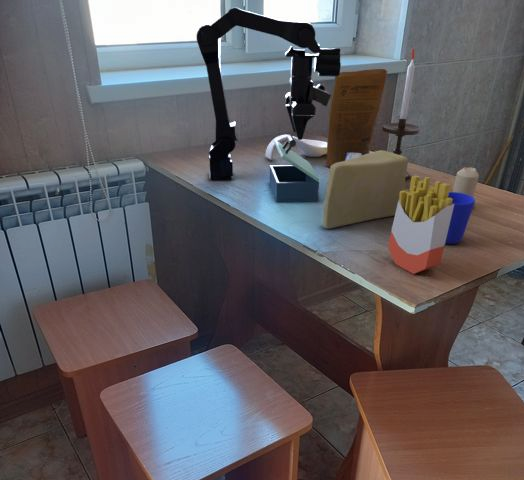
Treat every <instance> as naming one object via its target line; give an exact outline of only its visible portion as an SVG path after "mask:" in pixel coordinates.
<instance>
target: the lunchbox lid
mask: <svg viewBox="0 0 524 480" xmlns="http://www.w3.org/2000/svg"><path fill="white" fill-rule="evenodd" d="M286 135H287V137H286V140H285V142H284V143H281V142H278V141H276V140H274V143H275V148H276V149H277V152H278V154H279V155H280V158H281V159H283V160H284V161H286V162H287V163H289V164H290V165H294V166H295V167H297V168H298V169H300V170H301V171H303V172H304V173H306V174H307V175H309V176H310V177H312V178H313V179H315V180H316V181H318V182H319V183H320V180H321V179H320V178H319V176H318V174H317V173H316V171H315V169H314V168H313V166H312V165H311V163H310V162H309V161H308V160H307V159H305V158H303V157H302V156H300V155H299V154H297V153H296V152H294V151H293V150H291V149H292V148H294V147H296V141H295V140H294V138H293V135H292V134H286Z"/></svg>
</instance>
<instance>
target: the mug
mask: <svg viewBox="0 0 524 480" xmlns="http://www.w3.org/2000/svg"><path fill="white" fill-rule="evenodd" d="M448 198H452V199H453V200H452V203H453V204H454V208H453V212H452V216H451V220H450V225H449V229H448V233H447V237H446V241H445V245H455V244H458V243H459V242H461V241H462V239H463V238H464V235H465V232H466V229H467V227H468V223H469V221H470V218H471V214H472V211H473V209H474V206H475V203H476V199H475V198H474V197H471V196H469V195H466V194H463V193H457V192H453V191H449V195H448Z"/></svg>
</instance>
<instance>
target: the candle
mask: <svg viewBox="0 0 524 480" xmlns="http://www.w3.org/2000/svg"><path fill="white" fill-rule="evenodd" d="M479 177H480V174H479V172H478V171H477V169H476V168H475V167H467V166H464V167H462V168H461V169H459V170H458V171H457V172H456V176H455V179H454V180H455V181H454V184H453V188H452V192H457V193H463V194H466V195H469V196H471V197H473V198H474V196H475V192H476V189H477V185H478V182H479Z"/></svg>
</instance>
